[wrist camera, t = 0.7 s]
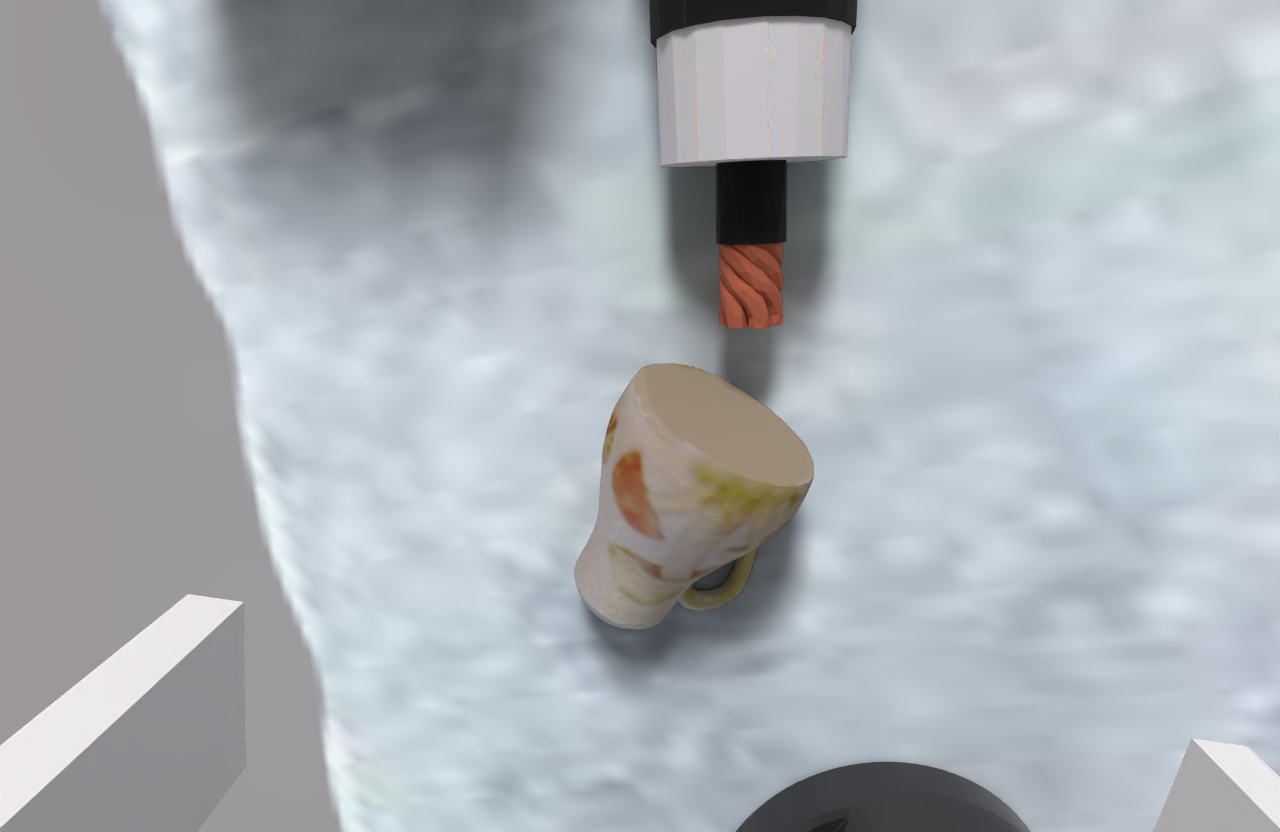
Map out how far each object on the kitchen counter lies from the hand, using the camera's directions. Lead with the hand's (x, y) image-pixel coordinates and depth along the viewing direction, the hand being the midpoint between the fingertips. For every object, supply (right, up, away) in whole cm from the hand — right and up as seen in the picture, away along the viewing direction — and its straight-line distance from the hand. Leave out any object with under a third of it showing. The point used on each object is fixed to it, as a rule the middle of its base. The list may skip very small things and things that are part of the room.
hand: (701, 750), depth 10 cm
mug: (+1, +2, +19) cm, 19 cm away
